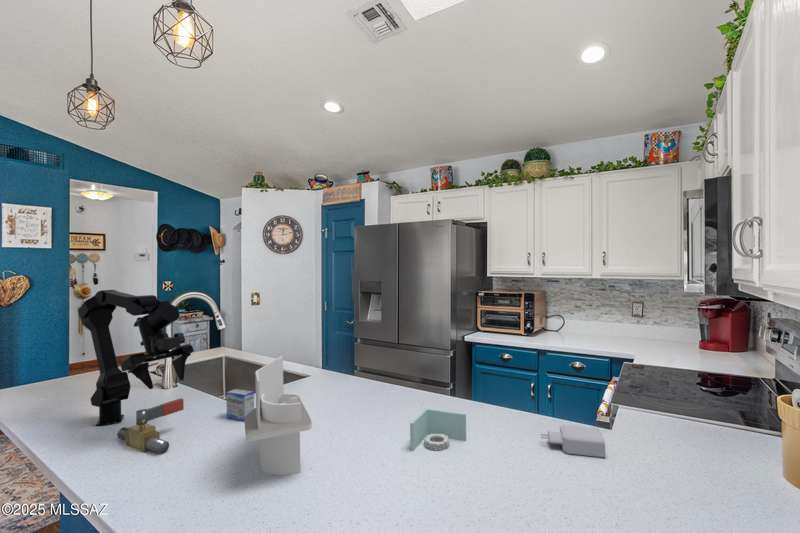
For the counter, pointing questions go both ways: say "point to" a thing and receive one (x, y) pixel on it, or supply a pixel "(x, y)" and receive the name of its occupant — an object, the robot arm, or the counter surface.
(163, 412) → the lever
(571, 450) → the charger
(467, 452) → the counter surface
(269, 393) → the architectural model
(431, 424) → the l-shaped corner panel
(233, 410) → the medicine box
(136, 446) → the valve
